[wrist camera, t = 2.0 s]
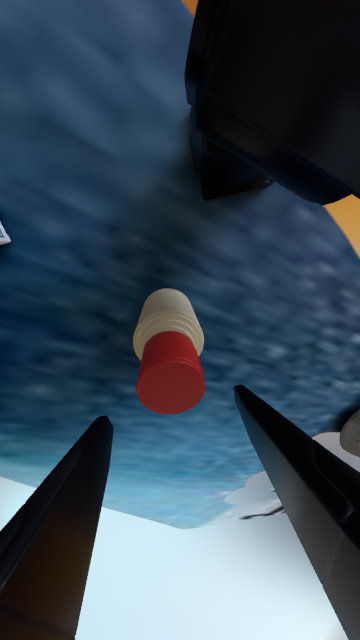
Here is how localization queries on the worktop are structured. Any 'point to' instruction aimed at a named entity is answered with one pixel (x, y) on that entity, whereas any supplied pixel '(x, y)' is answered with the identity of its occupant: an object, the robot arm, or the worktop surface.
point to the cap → (170, 374)
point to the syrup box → (3, 236)
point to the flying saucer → (351, 434)
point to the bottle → (167, 319)
